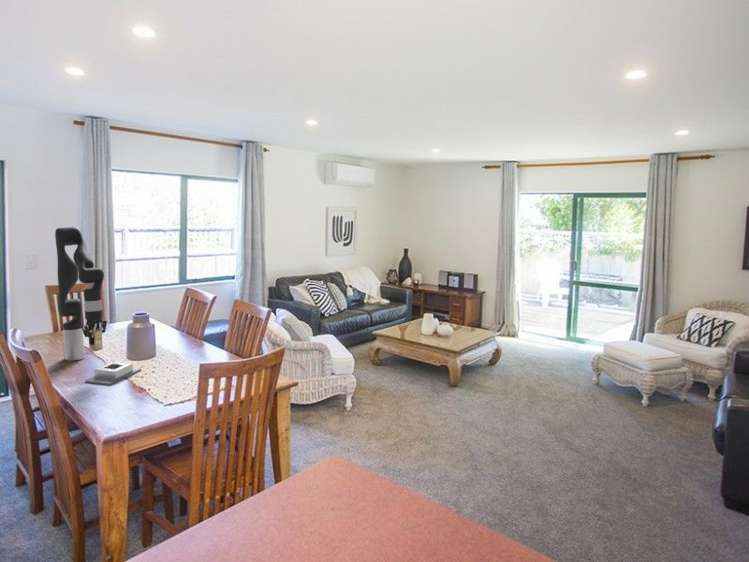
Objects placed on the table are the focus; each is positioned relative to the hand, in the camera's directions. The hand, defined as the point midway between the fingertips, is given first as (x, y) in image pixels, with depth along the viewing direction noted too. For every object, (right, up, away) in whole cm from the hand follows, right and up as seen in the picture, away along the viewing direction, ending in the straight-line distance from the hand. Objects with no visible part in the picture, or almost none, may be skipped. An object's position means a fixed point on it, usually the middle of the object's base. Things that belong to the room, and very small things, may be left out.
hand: (95, 343), depth 243 cm
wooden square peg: (0, -3, 0) cm, 3 cm away
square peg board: (+6, -17, +5) cm, 19 cm away
